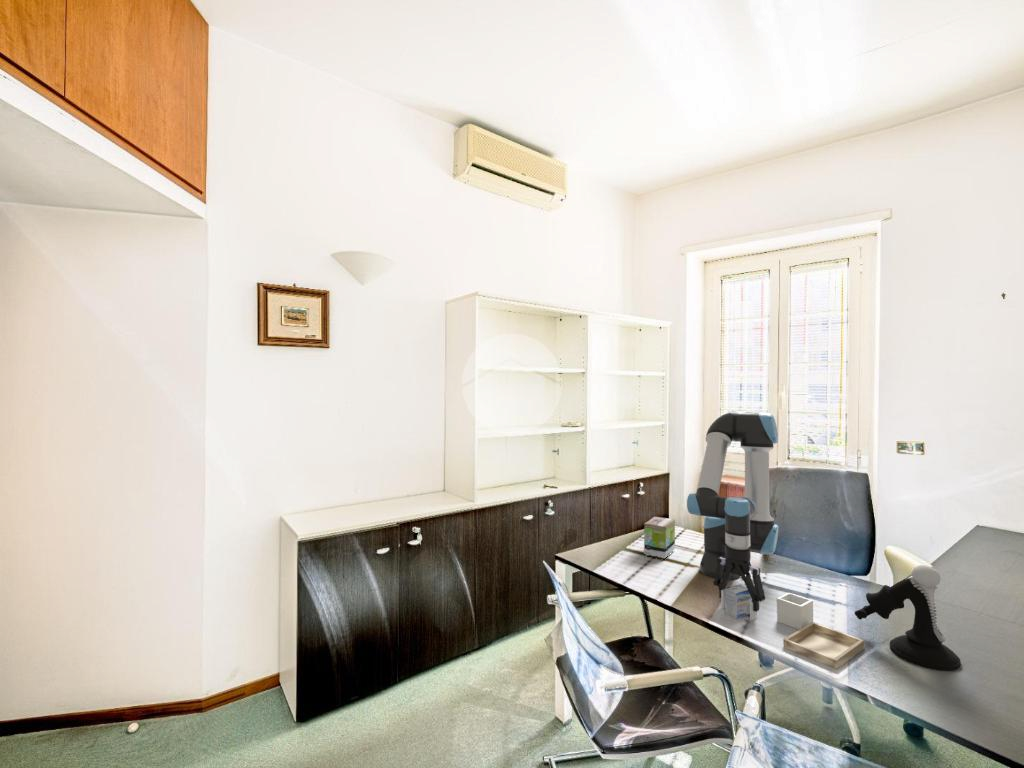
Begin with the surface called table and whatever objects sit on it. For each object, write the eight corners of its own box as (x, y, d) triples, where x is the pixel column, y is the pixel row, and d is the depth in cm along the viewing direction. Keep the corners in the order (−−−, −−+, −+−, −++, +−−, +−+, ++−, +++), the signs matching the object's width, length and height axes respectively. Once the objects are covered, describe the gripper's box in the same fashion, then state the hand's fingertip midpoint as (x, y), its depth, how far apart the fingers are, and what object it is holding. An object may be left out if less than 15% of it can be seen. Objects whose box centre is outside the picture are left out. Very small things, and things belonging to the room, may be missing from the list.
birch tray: (783, 649, 140) (783, 639, 140) (812, 631, 150) (812, 621, 150) (836, 672, 129) (836, 660, 129) (864, 650, 139) (864, 640, 139)
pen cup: (777, 623, 155) (776, 598, 155) (788, 617, 159) (788, 592, 159) (801, 633, 149) (801, 606, 149) (813, 626, 153) (812, 600, 153)
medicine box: (736, 620, 157) (736, 593, 157) (724, 615, 161) (724, 588, 161) (752, 615, 161) (752, 588, 161) (740, 609, 165) (740, 584, 165)
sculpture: (955, 678, 125) (954, 580, 126) (847, 642, 143) (846, 557, 143) (964, 656, 135) (962, 565, 136) (862, 625, 153) (860, 545, 153)
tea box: (666, 560, 212) (665, 526, 212) (643, 556, 218) (643, 523, 218) (675, 550, 225) (675, 518, 225) (653, 547, 230) (653, 515, 231)
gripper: (701, 539, 168) (702, 605, 168) (764, 557, 150) (765, 631, 150) (714, 535, 172) (715, 600, 172) (777, 552, 154) (778, 624, 154)
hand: (738, 614), depth 161 cm, fingers open, 9 cm apart
